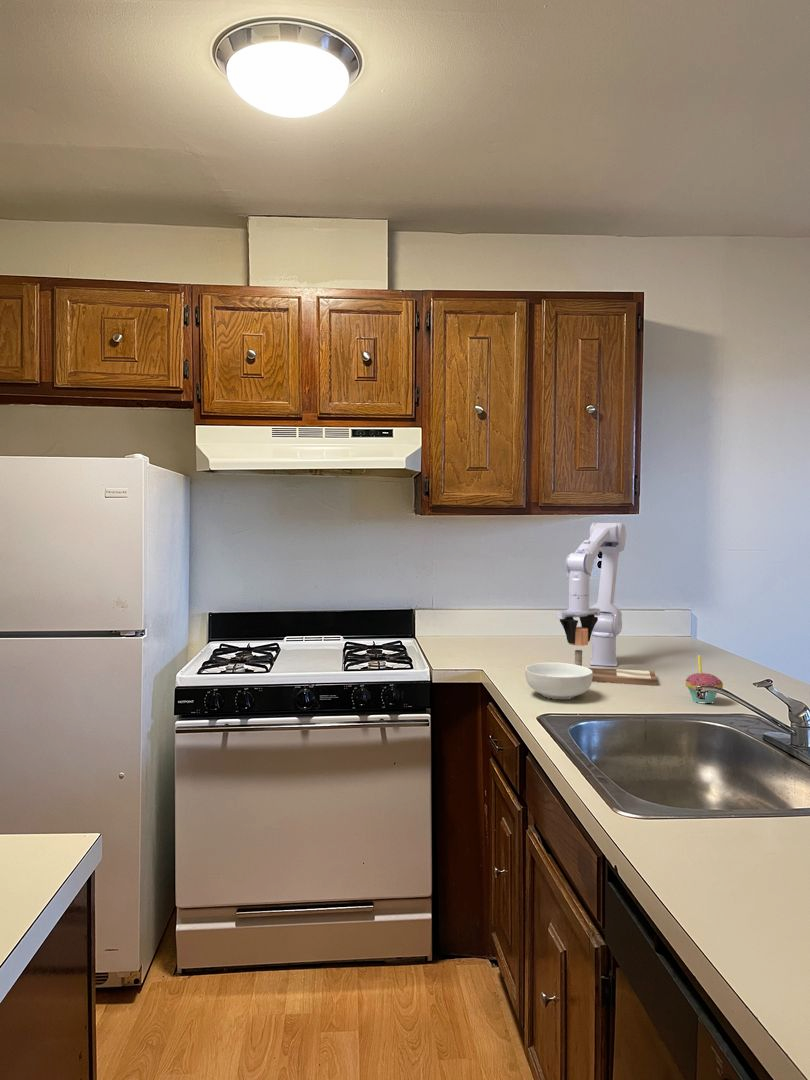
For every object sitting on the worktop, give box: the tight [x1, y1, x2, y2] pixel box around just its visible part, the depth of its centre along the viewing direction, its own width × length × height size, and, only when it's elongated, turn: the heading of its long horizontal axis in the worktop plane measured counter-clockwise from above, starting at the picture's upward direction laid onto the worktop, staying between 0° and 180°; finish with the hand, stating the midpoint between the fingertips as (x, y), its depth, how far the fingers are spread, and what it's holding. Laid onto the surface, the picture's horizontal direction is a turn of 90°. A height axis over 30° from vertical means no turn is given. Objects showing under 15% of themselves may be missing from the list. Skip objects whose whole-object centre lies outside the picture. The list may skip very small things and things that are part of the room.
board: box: [574, 649, 658, 687], centre depth 203 cm, size 11×28×8 cm, turn 74°
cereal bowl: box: [524, 661, 593, 700], centre depth 183 cm, size 17×17×7 cm
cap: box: [568, 626, 589, 647], centre depth 205 cm, size 5×5×5 cm
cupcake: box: [685, 652, 724, 704], centre depth 178 cm, size 9×8×12 cm
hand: (578, 642), depth 205 cm, fingers closed on cap, 5 cm apart
